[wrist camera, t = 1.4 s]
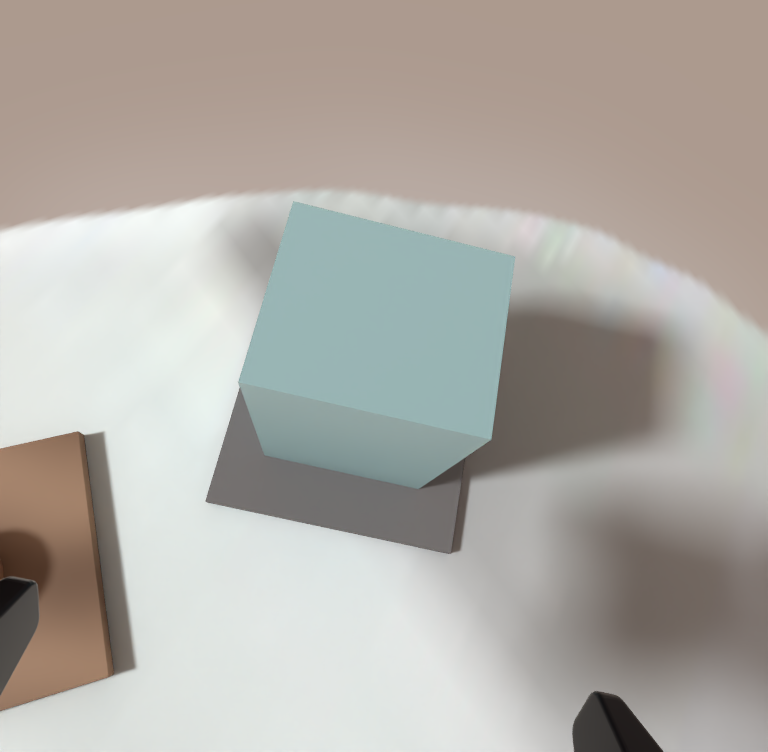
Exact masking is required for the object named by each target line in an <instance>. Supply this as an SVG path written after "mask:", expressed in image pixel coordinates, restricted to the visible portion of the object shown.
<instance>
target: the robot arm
mask: <svg viewBox="0 0 768 752" xmlns="http://www.w3.org/2000/svg"><path fill="white" fill-rule="evenodd" d="M38 623H39V595H38V585H37V583H36V582H35V581H33V580H30V579H25V578H20V577H15V576H10V577H6V578H3V579H1V580H0V696H1V694H2V692H3V690H4V688H5V687H6V685H7V683H8V681H9V679H10V677H11V676H12V674H13V672H14V670H15V668H16V666H17V665H18V663H19V661H20V659H21V657H22V655H23V654H24V652H25V650H26V648H27V646H28V644H29V643H30V641H31V639H32V637H33V635H34V633H35V631H36V629H37V626H38ZM572 735H573V745H574V752H663V750H662V749H661V748H660V747H659V745H658V744H657V743H656V742H655V740H654V739H653V738H652V736H651V735H650V734H649V733H648V731H647V730H646V729H645V728H644V726H643V725H642V724H641V723H640V721H639V720H638V719H637V718H636V716H635V715H634V714H633V712H632V711H631V710H630V709H629V707H628V706H627V705H626V704H625V702H624V701H623V700H622V699H621V698H620V697H618V696H616V695H614V694H609V693H604V692H599V691H595V692H593V693H591V694H590V696H589V697H588V699H587V700H586V702H585V704H584V705H583V707H582V709H581V710H580V712H579V714H578V715H577V717H576V719H575V721H574V724H573V733H572Z"/></svg>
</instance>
